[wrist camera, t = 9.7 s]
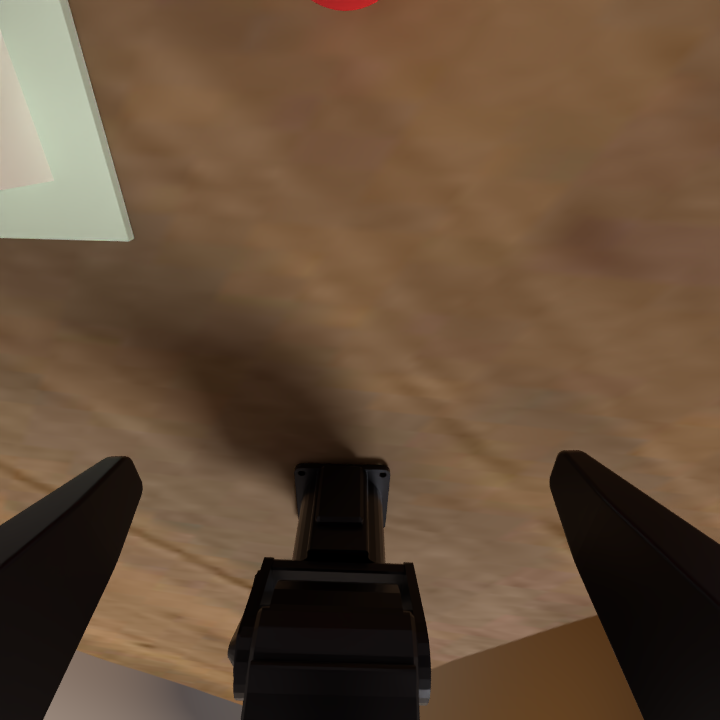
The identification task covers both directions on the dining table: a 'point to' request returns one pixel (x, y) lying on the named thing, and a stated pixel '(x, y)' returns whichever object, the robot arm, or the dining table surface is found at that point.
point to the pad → (60, 132)
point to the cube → (18, 133)
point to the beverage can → (345, 4)
